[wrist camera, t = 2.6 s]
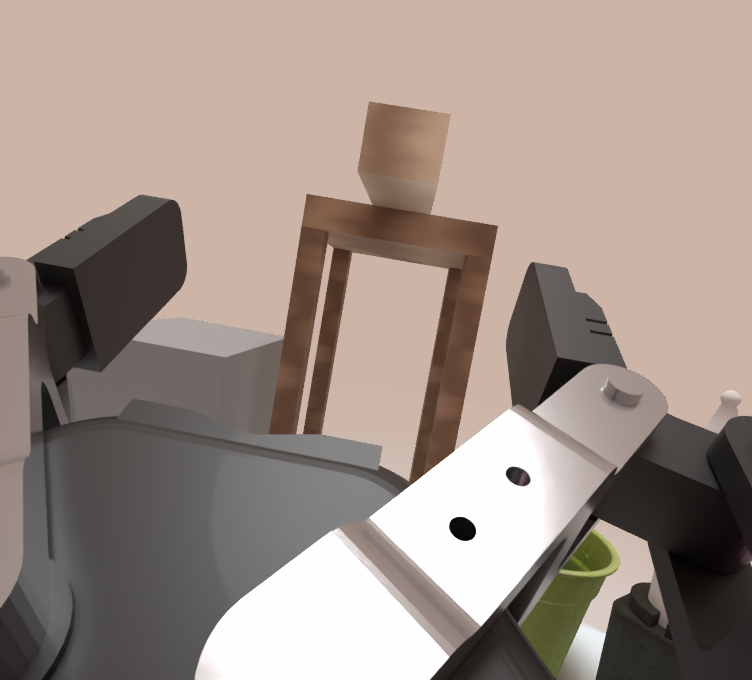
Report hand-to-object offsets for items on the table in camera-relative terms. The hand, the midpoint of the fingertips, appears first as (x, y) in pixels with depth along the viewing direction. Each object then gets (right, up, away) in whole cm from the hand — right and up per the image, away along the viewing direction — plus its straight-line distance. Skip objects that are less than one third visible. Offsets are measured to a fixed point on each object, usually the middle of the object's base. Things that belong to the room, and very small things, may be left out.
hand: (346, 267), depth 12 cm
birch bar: (+2, +7, +23) cm, 24 cm away
